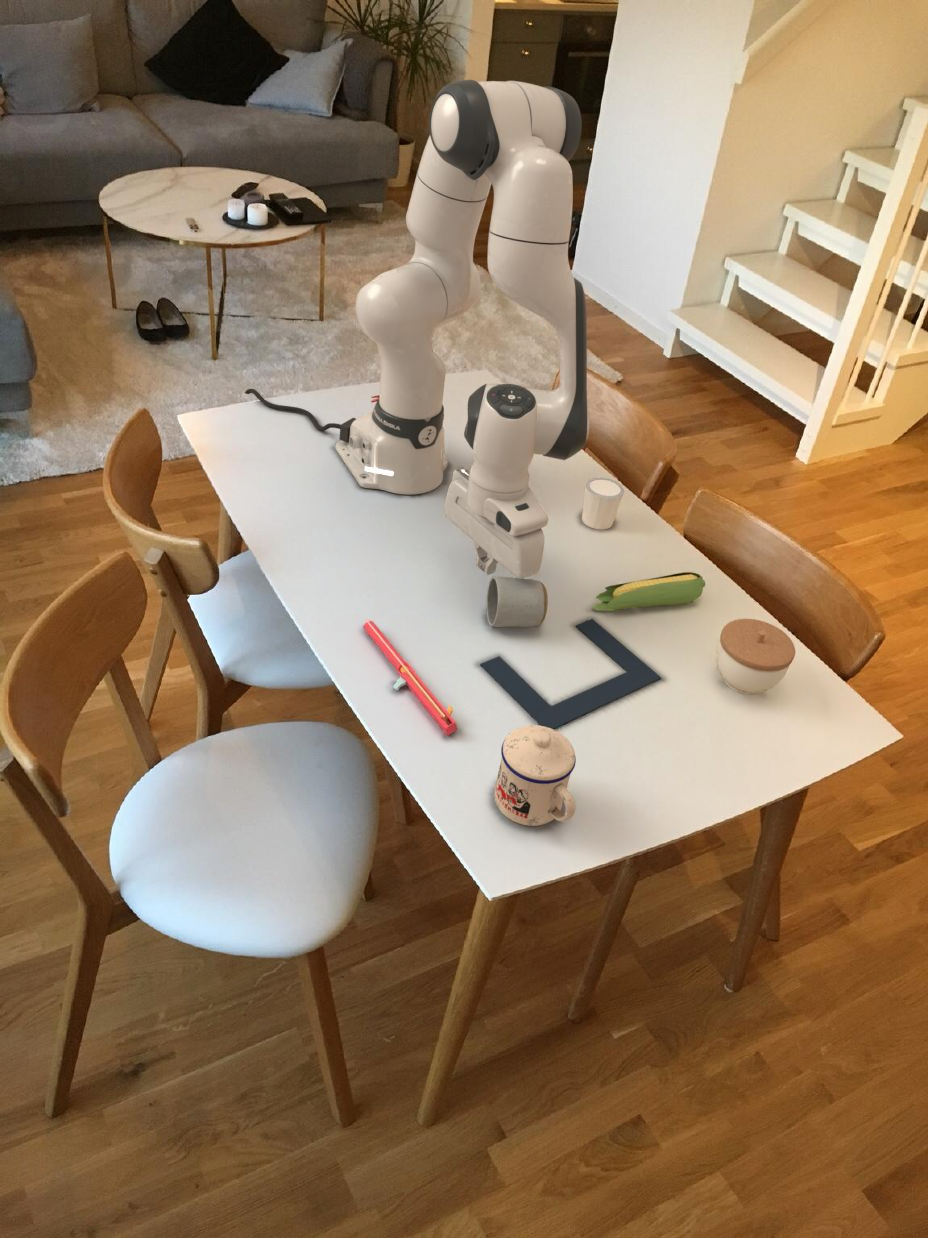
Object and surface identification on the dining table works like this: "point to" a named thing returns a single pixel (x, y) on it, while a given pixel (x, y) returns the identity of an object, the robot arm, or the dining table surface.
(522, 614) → the ceramic mug
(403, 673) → the red striped bar
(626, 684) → the dark grey flat piece
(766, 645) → the trinket box
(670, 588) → the edible corn
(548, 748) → the teacup with lid
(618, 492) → the white faceted cylinder
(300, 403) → the dining table surface
